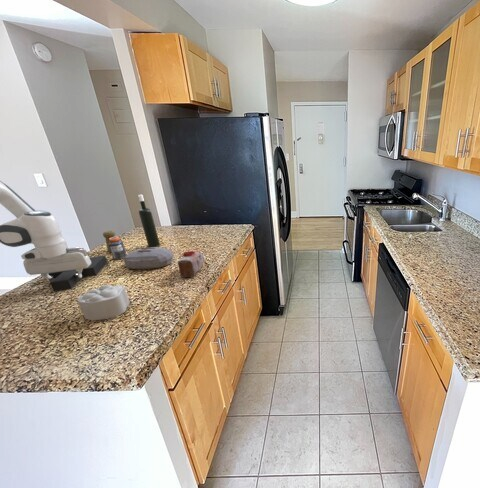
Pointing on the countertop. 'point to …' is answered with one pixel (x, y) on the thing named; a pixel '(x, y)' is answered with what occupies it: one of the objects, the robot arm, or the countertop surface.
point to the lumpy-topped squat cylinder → (104, 302)
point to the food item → (190, 263)
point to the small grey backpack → (148, 258)
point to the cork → (108, 235)
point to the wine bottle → (148, 224)
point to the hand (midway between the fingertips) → (65, 279)
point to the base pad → (92, 270)
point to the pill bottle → (117, 248)
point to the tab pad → (65, 280)
